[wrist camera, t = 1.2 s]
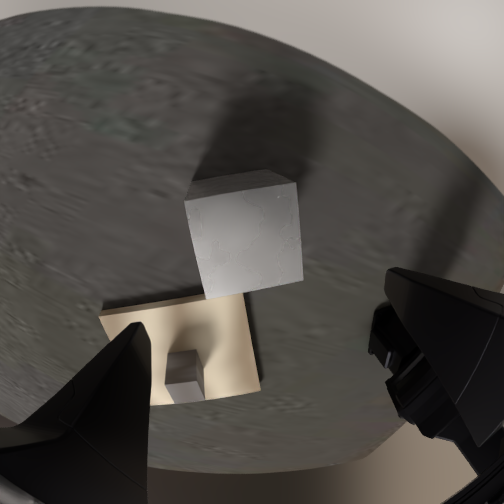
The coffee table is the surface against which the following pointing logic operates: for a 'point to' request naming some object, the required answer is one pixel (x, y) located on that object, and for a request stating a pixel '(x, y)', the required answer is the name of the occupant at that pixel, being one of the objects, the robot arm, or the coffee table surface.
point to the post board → (193, 346)
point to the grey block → (245, 231)
